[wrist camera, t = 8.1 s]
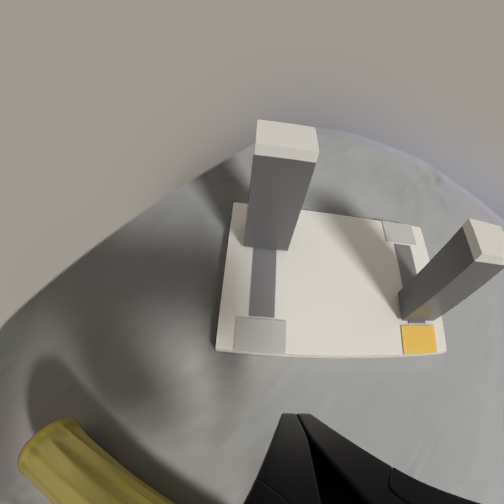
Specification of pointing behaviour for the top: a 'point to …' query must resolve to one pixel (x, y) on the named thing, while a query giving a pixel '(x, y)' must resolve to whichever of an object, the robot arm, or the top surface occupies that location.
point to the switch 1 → (278, 182)
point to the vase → (79, 469)
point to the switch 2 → (454, 272)
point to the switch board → (325, 291)
